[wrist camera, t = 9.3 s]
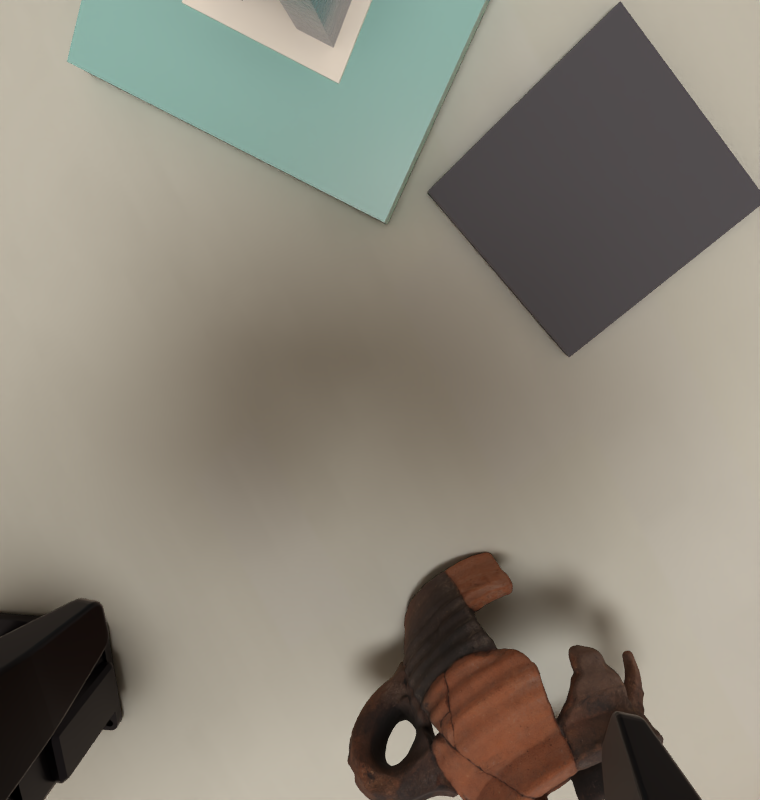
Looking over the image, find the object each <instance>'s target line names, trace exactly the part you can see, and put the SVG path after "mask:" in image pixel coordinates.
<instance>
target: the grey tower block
mask: <svg viewBox="0 0 760 800" xmlns="http://www.w3.org/2000/svg"><path fill="white" fill-rule="evenodd" d="M242 1H243V0H242ZM351 1H352V0H280V2H281V4H282V5H283V7H284V9H285V10H286V12H287V14H288V15H289V17H290V19H291V20H292V22H293V23H294V25H295V27H296V28H297V29H298V30H300V31H302V32H304V33H306V34H308V35H310V36H312V37H313V38H315V39H317V40H319V41H321V42H323V43H325V44H327V45H329V46H331V47H333V48H334V45H335V43H336V40H337V38H338V35H339V32H340V30H341V27H342V24H343V22H344V19H345V17H346V14H347V11H348V9H349V6H350V4H351Z"/></svg>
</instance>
